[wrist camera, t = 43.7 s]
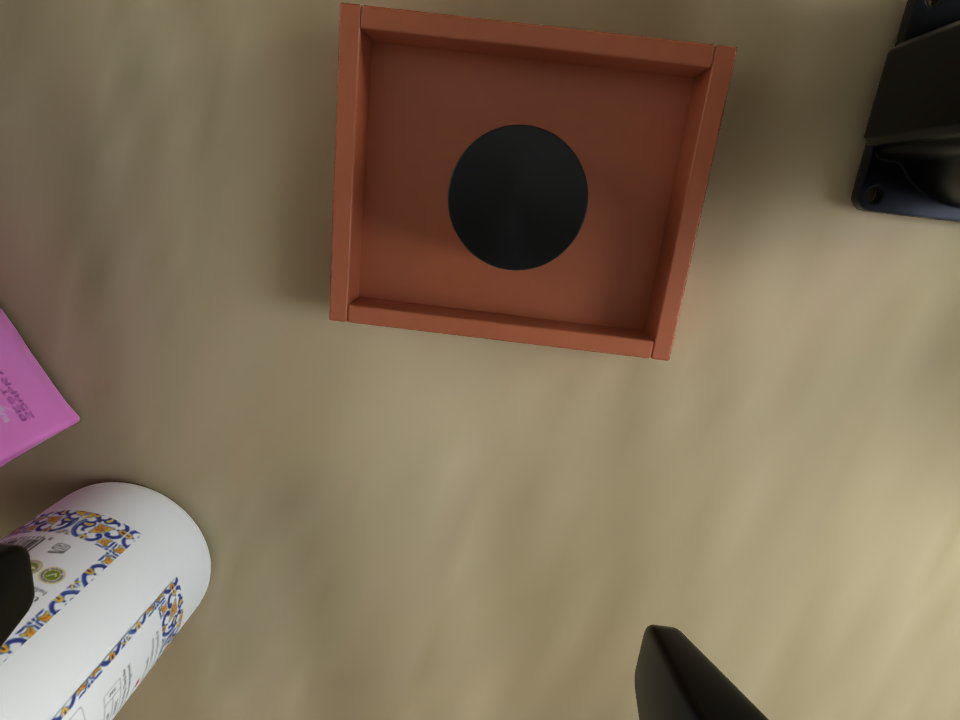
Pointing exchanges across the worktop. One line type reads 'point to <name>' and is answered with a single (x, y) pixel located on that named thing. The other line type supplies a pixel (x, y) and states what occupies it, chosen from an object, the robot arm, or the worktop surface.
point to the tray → (528, 101)
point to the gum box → (26, 398)
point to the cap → (517, 197)
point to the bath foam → (100, 600)
